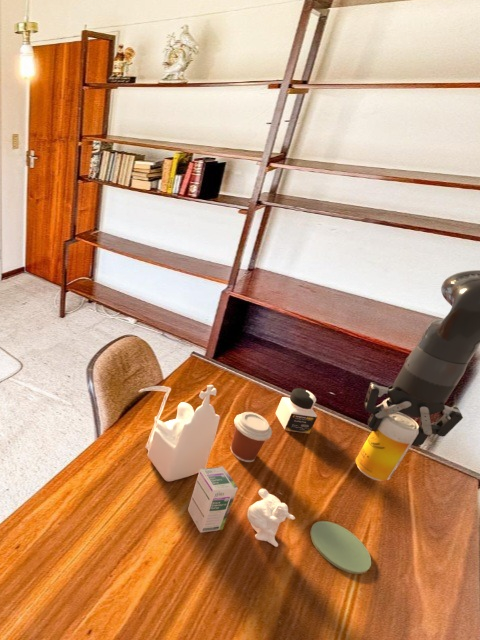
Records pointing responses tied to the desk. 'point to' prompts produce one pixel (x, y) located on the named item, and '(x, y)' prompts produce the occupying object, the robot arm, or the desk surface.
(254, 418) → the coffee cup
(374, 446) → the beer can
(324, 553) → the coaster
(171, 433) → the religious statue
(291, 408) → the medicine bottle
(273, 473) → the desk surface
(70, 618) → the desk surface
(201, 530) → the syrup box
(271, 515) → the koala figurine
